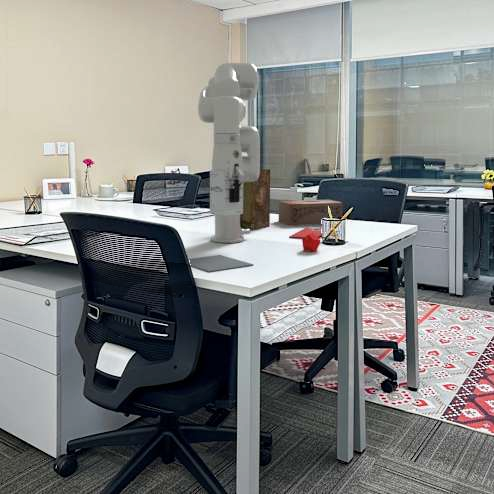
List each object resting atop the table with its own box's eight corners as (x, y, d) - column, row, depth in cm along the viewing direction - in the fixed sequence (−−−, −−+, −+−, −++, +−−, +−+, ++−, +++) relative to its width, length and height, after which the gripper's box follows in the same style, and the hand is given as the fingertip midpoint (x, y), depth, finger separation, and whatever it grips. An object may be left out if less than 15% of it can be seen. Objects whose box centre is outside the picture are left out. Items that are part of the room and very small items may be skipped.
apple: (309, 232, 204) (300, 227, 197) (326, 238, 201) (317, 233, 194) (302, 251, 204) (293, 246, 197) (319, 256, 200) (310, 252, 194)
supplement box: (209, 213, 172) (208, 170, 170) (229, 211, 176) (229, 169, 174) (223, 215, 166) (223, 171, 164) (243, 214, 171) (244, 171, 168)
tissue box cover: (289, 226, 258) (290, 204, 256) (278, 221, 272) (278, 200, 270) (341, 224, 266) (342, 202, 264) (328, 220, 279) (329, 199, 277)
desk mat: (220, 255, 189) (220, 254, 189) (253, 265, 175) (253, 264, 175) (177, 261, 180) (177, 260, 180) (209, 272, 165) (209, 270, 165)
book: (260, 225, 259) (261, 169, 255) (271, 226, 256) (271, 169, 252) (240, 229, 246) (240, 170, 241) (250, 230, 243) (251, 170, 238)
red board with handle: (344, 230, 247) (310, 228, 253) (344, 223, 246) (310, 222, 252) (326, 242, 220) (288, 240, 225) (326, 234, 219) (288, 233, 225)
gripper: (255, 140, 163) (254, 202, 166) (220, 140, 176) (220, 197, 180) (233, 140, 158) (233, 204, 162) (199, 140, 172) (200, 199, 175)
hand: (226, 200), depth 171 cm, fingers closed on supplement box, 7 cm apart
